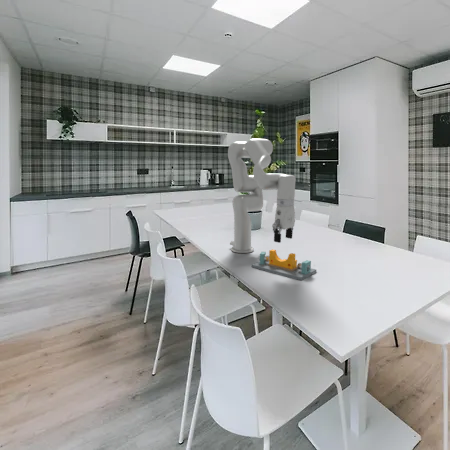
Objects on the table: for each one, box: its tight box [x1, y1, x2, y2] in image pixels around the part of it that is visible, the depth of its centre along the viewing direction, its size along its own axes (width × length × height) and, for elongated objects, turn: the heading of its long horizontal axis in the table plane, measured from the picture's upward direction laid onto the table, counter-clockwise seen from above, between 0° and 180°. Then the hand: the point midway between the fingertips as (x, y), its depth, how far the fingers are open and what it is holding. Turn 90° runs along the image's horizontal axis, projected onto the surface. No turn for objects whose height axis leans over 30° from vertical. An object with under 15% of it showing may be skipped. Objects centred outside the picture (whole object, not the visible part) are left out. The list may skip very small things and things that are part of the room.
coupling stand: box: [251, 251, 317, 281], centre depth 142 cm, size 26×14×6 cm, turn 48°
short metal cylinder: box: [258, 254, 269, 262], centre depth 148 cm, size 4×3×3 cm, turn 73°
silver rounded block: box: [297, 262, 310, 271], centre depth 135 cm, size 4×3×3 cm, turn 48°
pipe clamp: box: [268, 249, 298, 269], centre depth 141 cm, size 12×4×6 cm, turn 50°
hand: (283, 239), depth 140 cm, fingers open, 9 cm apart
